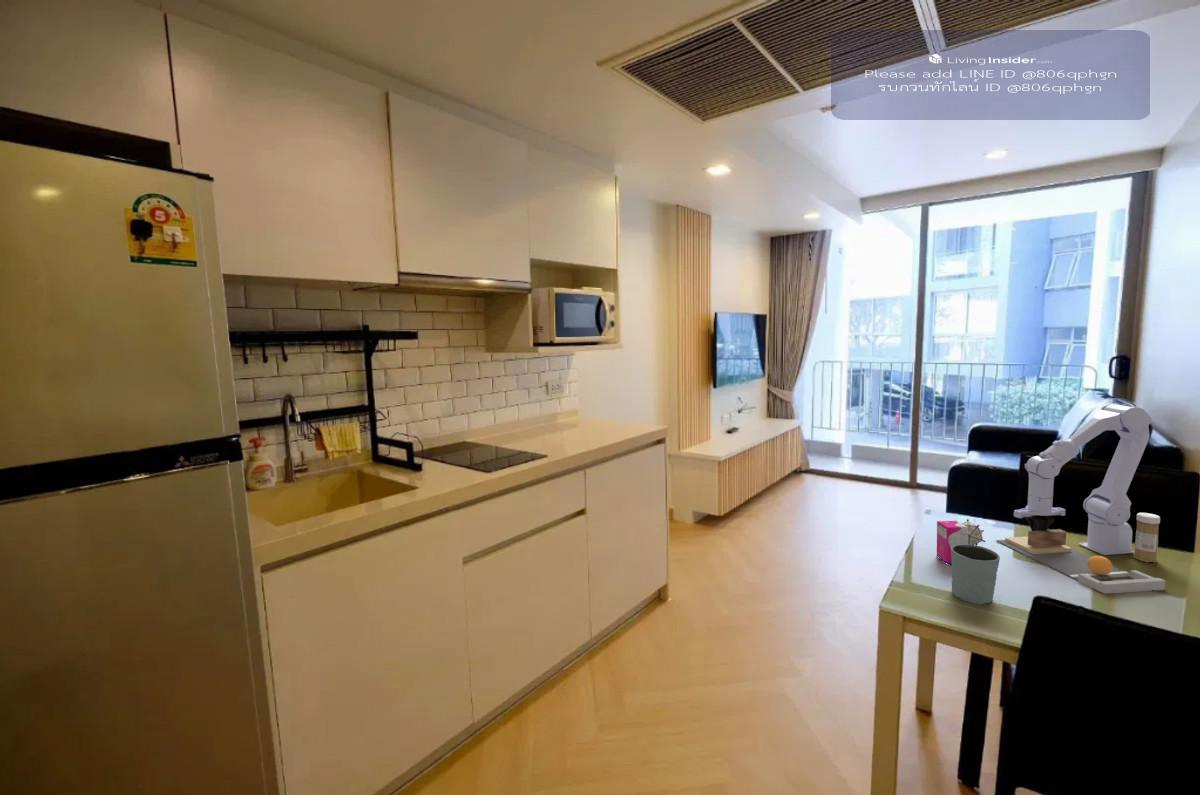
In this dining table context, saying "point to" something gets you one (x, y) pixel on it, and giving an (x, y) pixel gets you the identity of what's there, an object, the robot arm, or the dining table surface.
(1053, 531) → the pusher bar
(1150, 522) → the sprinkles bottle
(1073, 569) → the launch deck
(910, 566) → the dining table surface
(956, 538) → the supplement box
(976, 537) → the game die
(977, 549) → the grey-green plant pot
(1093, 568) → the ball
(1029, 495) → the robot arm
